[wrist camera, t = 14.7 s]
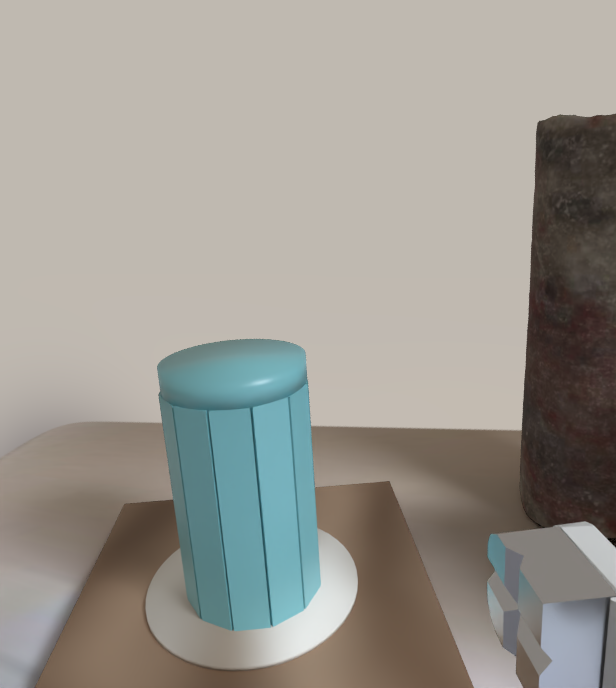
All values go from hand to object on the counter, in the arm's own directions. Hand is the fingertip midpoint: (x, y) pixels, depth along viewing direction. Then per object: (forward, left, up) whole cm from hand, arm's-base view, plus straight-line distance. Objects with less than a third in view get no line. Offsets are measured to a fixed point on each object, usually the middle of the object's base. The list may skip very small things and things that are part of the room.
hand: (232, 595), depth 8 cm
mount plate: (+1, -13, -11) cm, 17 cm away
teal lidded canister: (+1, -13, -10) cm, 16 cm away
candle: (-17, -18, -12) cm, 27 cm away
